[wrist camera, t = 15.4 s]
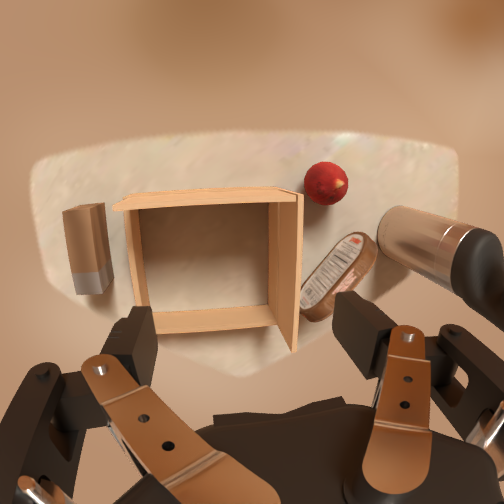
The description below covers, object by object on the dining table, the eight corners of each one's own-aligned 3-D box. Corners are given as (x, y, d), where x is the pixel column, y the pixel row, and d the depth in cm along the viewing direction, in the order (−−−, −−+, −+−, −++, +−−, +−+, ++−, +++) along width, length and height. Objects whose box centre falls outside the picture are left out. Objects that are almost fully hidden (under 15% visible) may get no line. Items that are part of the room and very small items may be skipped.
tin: (299, 307, 46) (318, 334, 38) (285, 297, 45) (303, 323, 37) (360, 235, 45) (390, 250, 37) (348, 223, 44) (377, 235, 36)
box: (104, 202, 36) (89, 208, 31) (114, 277, 39) (102, 293, 34) (79, 205, 36) (62, 211, 30) (90, 278, 39) (76, 294, 33)
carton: (274, 186, 40) (303, 194, 29) (273, 308, 45) (296, 352, 34) (131, 193, 37) (104, 205, 25) (147, 317, 42) (133, 364, 31)
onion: (325, 207, 42) (351, 216, 35) (291, 193, 41) (312, 200, 33) (338, 170, 41) (366, 172, 33) (304, 155, 39) (328, 154, 32)
